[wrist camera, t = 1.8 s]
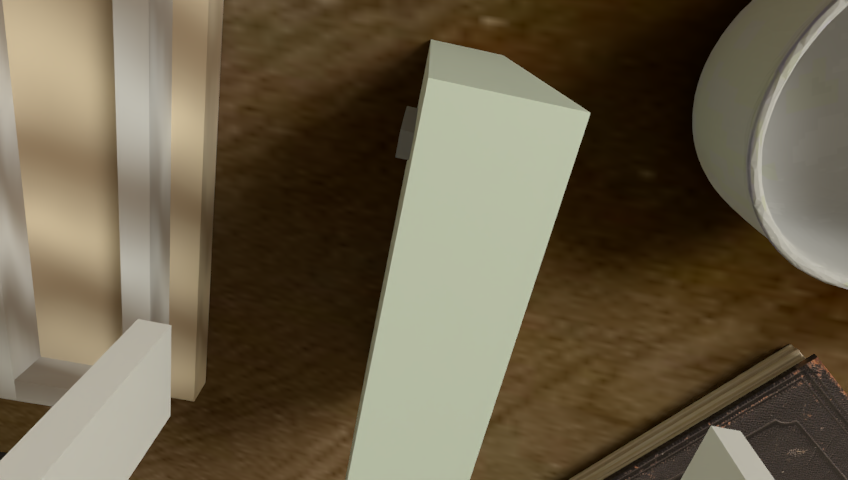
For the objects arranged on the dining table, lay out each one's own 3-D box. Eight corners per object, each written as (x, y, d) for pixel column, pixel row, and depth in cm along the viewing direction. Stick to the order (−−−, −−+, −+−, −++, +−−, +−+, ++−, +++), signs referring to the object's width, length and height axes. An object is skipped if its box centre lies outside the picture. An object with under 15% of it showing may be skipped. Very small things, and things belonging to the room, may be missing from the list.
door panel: (423, 369, 28) (417, 639, 16) (360, 357, 28) (305, 623, 16) (503, 55, 21) (590, 112, 10) (421, 37, 21) (405, 72, 9)
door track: (205, 382, 28) (178, 427, 25) (13, 349, 28) (-39, 391, 24) (227, -86, 19) (189, -104, 16) (-54, -151, 19) (-147, -182, 16)
